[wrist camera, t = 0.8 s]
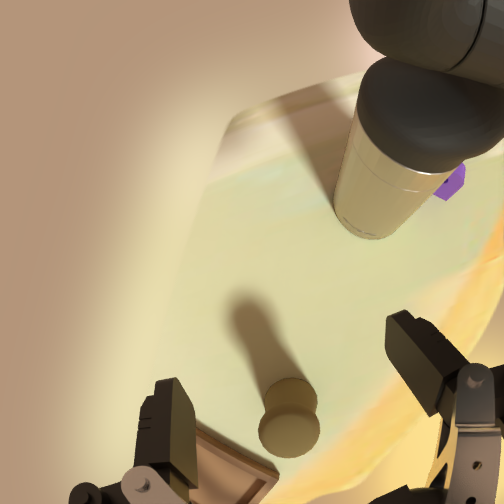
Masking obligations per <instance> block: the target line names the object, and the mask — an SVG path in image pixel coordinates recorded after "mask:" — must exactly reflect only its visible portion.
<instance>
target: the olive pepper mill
mask: <svg viewBox="0 0 504 504" xmlns="http://www.w3.org/2000/svg"><path fill="white" fill-rule="evenodd" d="M264 403H265V412H266V413H265V414H264V415H263V417H262V418H261V420H260V424H259V428H258V433H259V439H260V441H261V443H262V445H263V447H264V448H265V449H266V450H267V451H268V452H269V453H271V454H273V455H275V456H277V457H282V458H295V457H298V456H301V455H304V454H305V453H307V452H308V451H309V450H311V449H312V448H313V446H314V445H315V444H316V442H317V440H318V437H319V434H320V424H319V421H318V419H317V416H316V414H315V412H316V408H317V395H316V393H315V391H314V389H313V388H312V387H311V385H310V384H309V383H307V382H305V381H303V380H301V379H297V378H286V379H282V380H280V381H278V382H276V383H275V384H274V385H272V386H271V387H270V388H269V390H268V392H267V393H266V396H265V400H264Z"/></svg>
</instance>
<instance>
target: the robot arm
mask: <svg viewBox="0 0 504 504" xmlns="http://www.w3.org/2000/svg"><path fill="white" fill-rule="evenodd" d="M349 4H350V9H351V13H352V16H353V19H354V22H355V25H356V27H357V29H358V31H359V32H360V34H361V36H362V37H363V38H364V40H365V41H366V42H367V43H368V44H369V45H370V46H371V47H372V48H373V49H375V50H376V51H377V52H380V53H381V54H383V55H385V56H387V57H384V58H382V59H380V60H378V61H377V62H375V63H374V64H373V65H371V66H370V67H369V69H368V70H367V71H366V73H365V75H364V77H363V79H362V82H361V85H360V89H359V94H358V98H357V103H356V107H355V112H354V116H353V120H352V125H351V129H350V134H349V138H348V142H347V146H346V150H345V154H344V158H343V161H342V165H341V169H340V173H339V176H338V180H337V184H336V188H335V192H334V196H333V204H334V209H335V212H336V215H337V217H338V219H339V220H340V222H341V223H342V225H343V226H344V227H345V228H346V229H347V230H349V231H350V232H352V233H353V234H354V235H357V236H359V237H361V238H365V239H381V238H385V237H387V236H389V235H391V234H392V233H393V232H394V231H396V230H397V229H398V228H399V227H400V226H401V225H402V224H403V223H404V222H405V221H406V220H407V219H408V218H409V217H410V216H411V215H412V214H413V213H414V212H415V211H416V210H417V209H418V208H419V207H420V206H421V205H422V204H423V203H424V202H425V201H426V200H427V199H428V198H429V197H430V196H431V195H432V194H433V193H434V192H435V191H436V190H437V189H438V188H439V187H440V186H441V185H442V184H443V183H444V181H445V180H446V179H447V178H448V177H449V176H450V175H451V174H452V173H453V172H454V171H455V170H456V169H457V167H458V166H459V165H460V164H461V163H462V162H463V161H464V160H465V159H469V158H473V157H476V156H479V155H481V154H483V153H485V152H487V151H489V150H490V149H491V148H493V147H494V146H495V145H496V144H497V143H498V142H499V141H501V140H502V139H503V138H504V0H349ZM385 350H386V354H387V356H388V358H389V360H390V361H391V363H392V364H393V366H394V367H395V368H396V370H397V371H398V373H399V374H400V375H401V377H402V378H403V380H404V381H405V383H406V384H407V385H408V387H409V388H410V390H411V391H412V393H413V394H414V396H415V397H416V398H417V400H418V401H419V403H420V404H421V406H422V407H423V409H424V410H425V412H426V413H427V415H428V416H429V417H431V416H433V415H434V414H436V413H438V412H439V414H440V415H441V417H442V418H441V421H440V428H439V434H438V440H437V446H436V451H435V457H434V461H433V465H432V468H431V470H430V473H429V476H428V479H427V482H426V486H425V488H415V489H409V488H408V486H407V485H404V486H402V487H400V488H398V489H396V490H394V491H392V492H389V493H387V494H385V495H383V496H380V497H378V498H376V499H374V500H373V501H371V502H370V503H369V504H495V498H496V491H497V484H498V476H499V466H500V453H501V435H502V437H503V439H504V364H503V365H500V366H496V367H493V368H488V367H486V366H484V365H483V364H479V363H469V362H468V360H467V359H466V358H465V357H464V356H463V355H462V354H461V353H460V352H459V351H458V350H457V349H456V348H455V347H454V346H453V344H452V343H451V342H450V341H449V340H448V339H446V338H445V336H444V335H443V334H442V333H441V332H439V330H438V329H437V328H436V327H435V326H434V325H433V324H432V323H431V322H429V321H427V320H425V319H423V318H421V317H419V318H417V319H415V318H414V317H413V316H412V315H411V314H410V313H409V312H408V311H407V310H402V311H399V312H397V313H394V314H392V315H389V316H387V318H386V332H385ZM139 420H140V421H139V423H138V431H137V439H136V448H135V458H134V466H133V468H132V469H130V470H129V471H127V472H126V473H125V475H124V476H123V478H122V481H120V482H118V483H115V484H112V485H109V486H105V487H102V488H98V487H97V486H95V485H94V484H92V483H88V482H85V483H81V484H79V485H77V486H75V487H74V488H73V489H72V491H71V493H70V497H69V504H194V503H193V502H192V501H191V500H190V499H189V490H190V489H199V486H198V469H197V449H196V421H195V411H194V407H193V404H192V402H191V400H190V399H189V397H188V395H187V394H186V392H185V390H184V389H183V387H182V385H181V383H180V382H179V380H178V379H177V378H176V377H174V378H169V379H164V380H158V381H156V383H155V390H154V395H152V396H147V397H146V399H145V401H144V402H143V404H142V406H141V408H140V416H139Z"/></svg>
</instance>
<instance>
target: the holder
mask: <svg viewBox="0 0 504 504" xmlns="http://www.w3.org/2000/svg"><path fill="white" fill-rule="evenodd" d="M196 449H197V469H198V486H199V489H190V490H189V499H190V500H191V501H192V502H193V503H194V504H259V502H260V501H261V500H262V499H263V498H264V497H265V496H266V495H267V493H268V492H269V491H270V490H271V489H272V488H273V486H274V485H275V484H276V483H277V482H278V480H279V475H280V473H278V472H276V471H273V470H271V469H269V468H267V467H265V466H263V465H261V464H259V463H257V462H255V461H253V460H251V459H249V458H248V457H246V456H244V455H242V454H240V453H238V452H236V451H235V450H233V449H231V448H229V447H228V446H226V445H224V444H222V443H221V442H219V441H217V440H216V439H214V438H212V437H211V436H209V435H207V434H206V433H204V432H202V431H201V430H199V429H198V428H196Z"/></svg>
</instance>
